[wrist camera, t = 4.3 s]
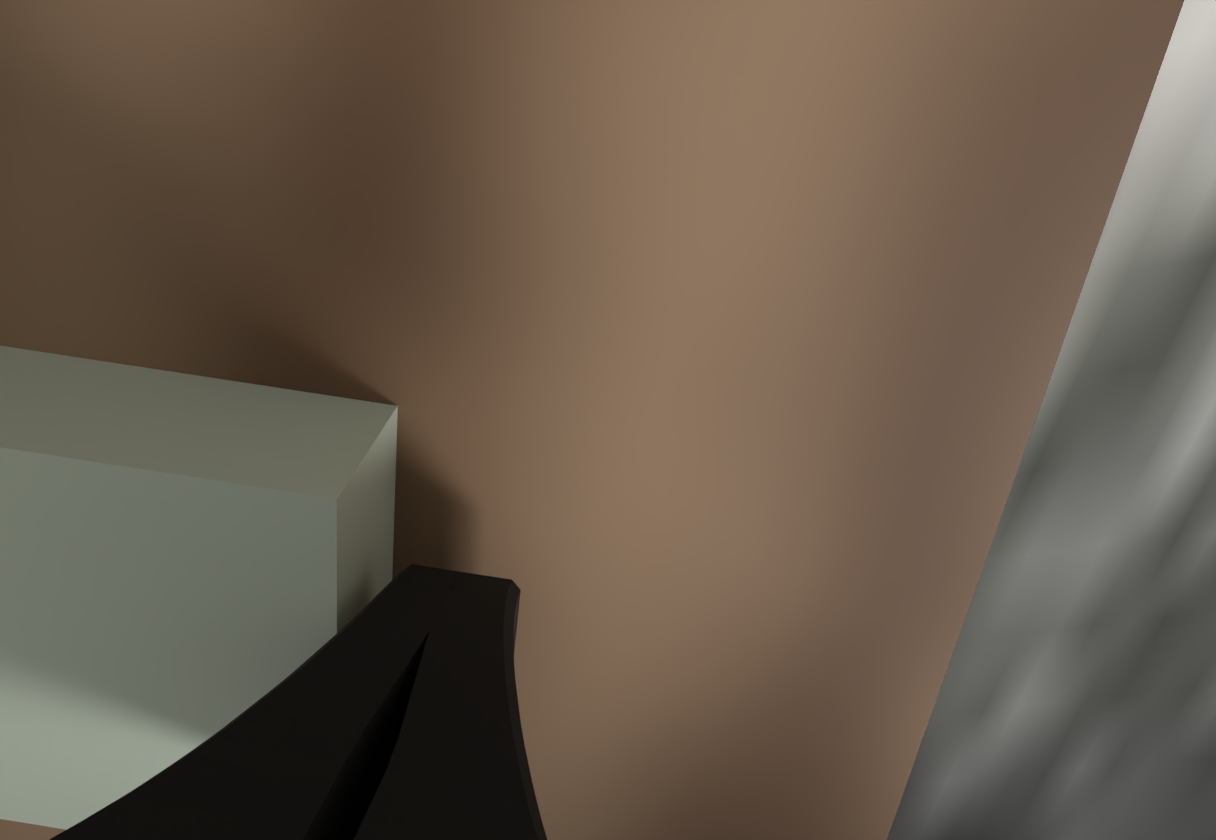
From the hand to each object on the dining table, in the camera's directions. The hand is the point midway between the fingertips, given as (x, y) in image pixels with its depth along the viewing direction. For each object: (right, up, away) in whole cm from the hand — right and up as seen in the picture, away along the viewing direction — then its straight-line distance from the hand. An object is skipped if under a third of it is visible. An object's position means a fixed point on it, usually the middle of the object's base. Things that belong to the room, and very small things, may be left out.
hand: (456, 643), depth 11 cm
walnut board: (-1, +1, +3) cm, 3 cm away
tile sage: (-3, +1, +1) cm, 4 cm away
